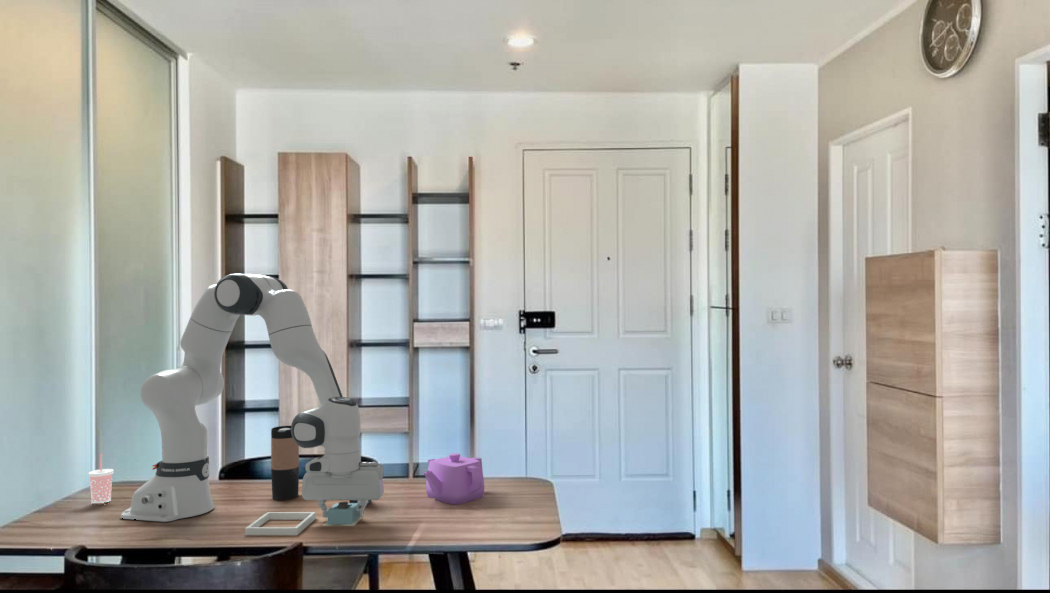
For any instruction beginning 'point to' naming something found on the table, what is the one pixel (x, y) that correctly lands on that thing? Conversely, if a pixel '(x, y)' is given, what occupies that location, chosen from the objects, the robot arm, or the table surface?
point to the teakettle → (455, 479)
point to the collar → (342, 514)
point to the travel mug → (284, 464)
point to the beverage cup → (101, 484)
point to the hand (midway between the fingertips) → (343, 517)
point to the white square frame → (257, 530)
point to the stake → (343, 506)
